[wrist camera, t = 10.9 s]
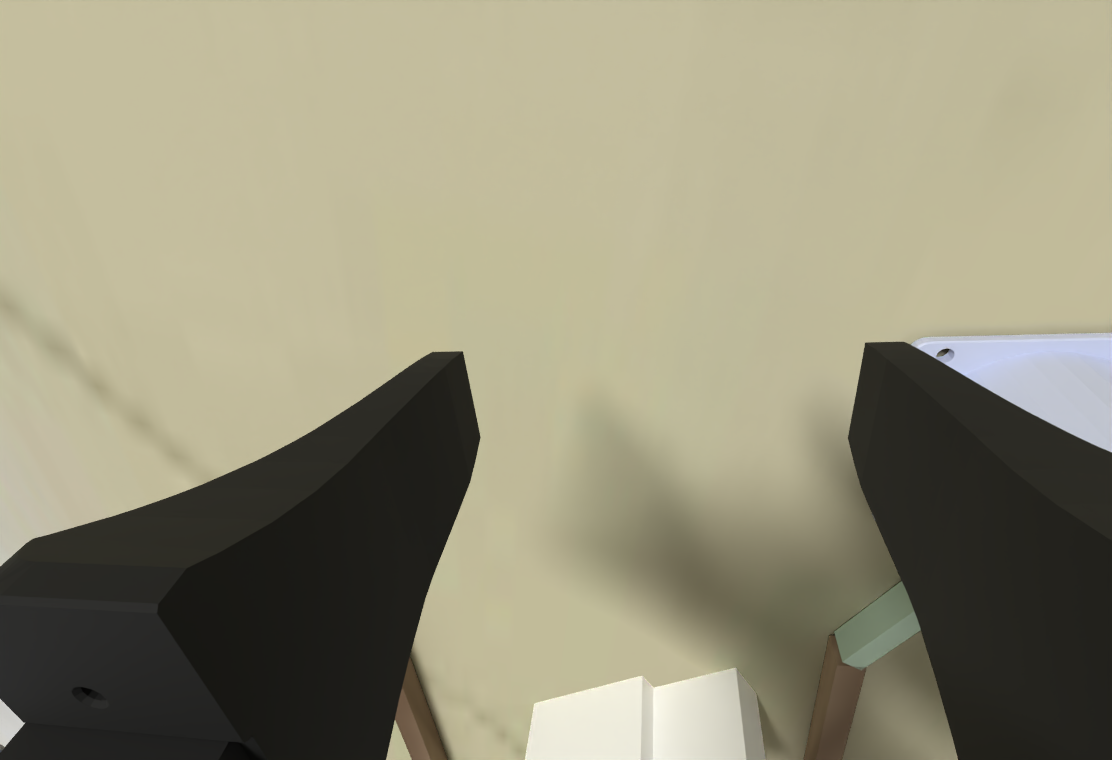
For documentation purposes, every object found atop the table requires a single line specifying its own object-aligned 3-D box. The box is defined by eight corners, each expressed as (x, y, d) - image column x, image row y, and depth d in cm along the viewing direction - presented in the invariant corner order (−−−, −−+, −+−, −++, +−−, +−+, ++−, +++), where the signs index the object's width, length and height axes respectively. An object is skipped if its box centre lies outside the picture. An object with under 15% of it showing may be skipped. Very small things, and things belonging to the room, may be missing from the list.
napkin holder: (510, 725, 37) (489, 835, 32) (518, 604, 31) (493, 717, 26) (765, 771, 36) (781, 891, 31) (826, 654, 30) (858, 782, 25)
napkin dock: (933, 574, 26) (958, 627, 23) (847, 845, 38) (858, 894, 36) (304, 551, 30) (278, 594, 28) (415, 800, 43) (402, 841, 41)
